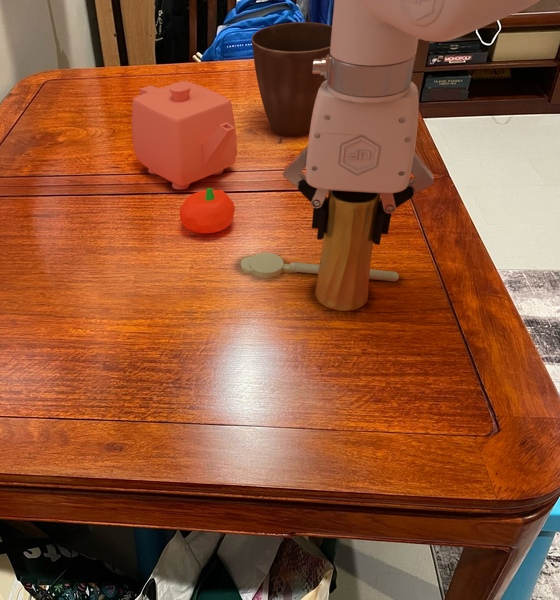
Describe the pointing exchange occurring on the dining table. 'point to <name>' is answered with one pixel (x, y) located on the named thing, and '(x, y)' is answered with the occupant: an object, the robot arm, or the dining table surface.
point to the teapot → (183, 132)
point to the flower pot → (290, 73)
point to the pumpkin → (207, 211)
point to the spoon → (295, 267)
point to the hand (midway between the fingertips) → (348, 233)
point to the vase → (347, 249)
